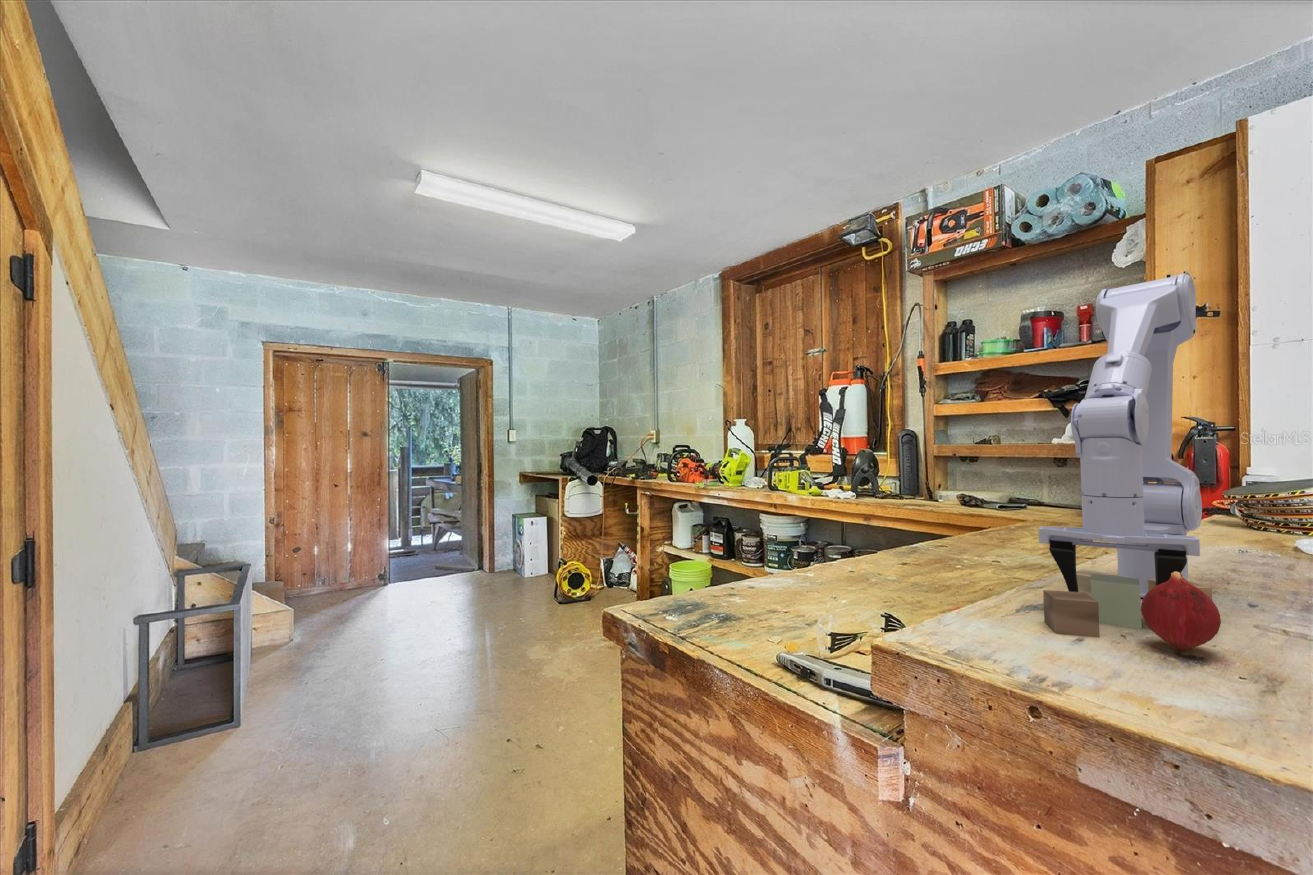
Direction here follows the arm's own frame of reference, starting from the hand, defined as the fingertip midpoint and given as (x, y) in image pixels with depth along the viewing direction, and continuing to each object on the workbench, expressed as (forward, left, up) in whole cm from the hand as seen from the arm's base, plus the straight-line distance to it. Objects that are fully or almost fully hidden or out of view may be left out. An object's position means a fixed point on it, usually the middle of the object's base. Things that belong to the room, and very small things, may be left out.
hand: (1115, 608), depth 64 cm
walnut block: (+7, -4, -2) cm, 8 cm away
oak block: (-7, +6, -2) cm, 9 cm away
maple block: (-7, -2, -2) cm, 7 cm away
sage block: (0, 0, -2) cm, 2 cm away
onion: (+8, +5, -2) cm, 10 cm away
